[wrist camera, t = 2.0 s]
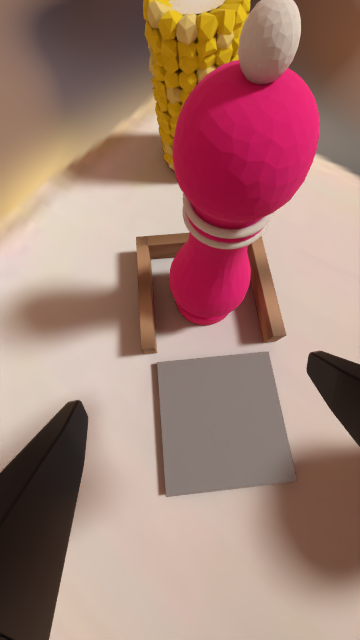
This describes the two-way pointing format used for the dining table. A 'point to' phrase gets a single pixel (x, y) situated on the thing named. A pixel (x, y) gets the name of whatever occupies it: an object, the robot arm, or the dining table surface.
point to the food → (188, 51)
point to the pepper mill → (240, 160)
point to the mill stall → (168, 248)
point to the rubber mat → (222, 424)
